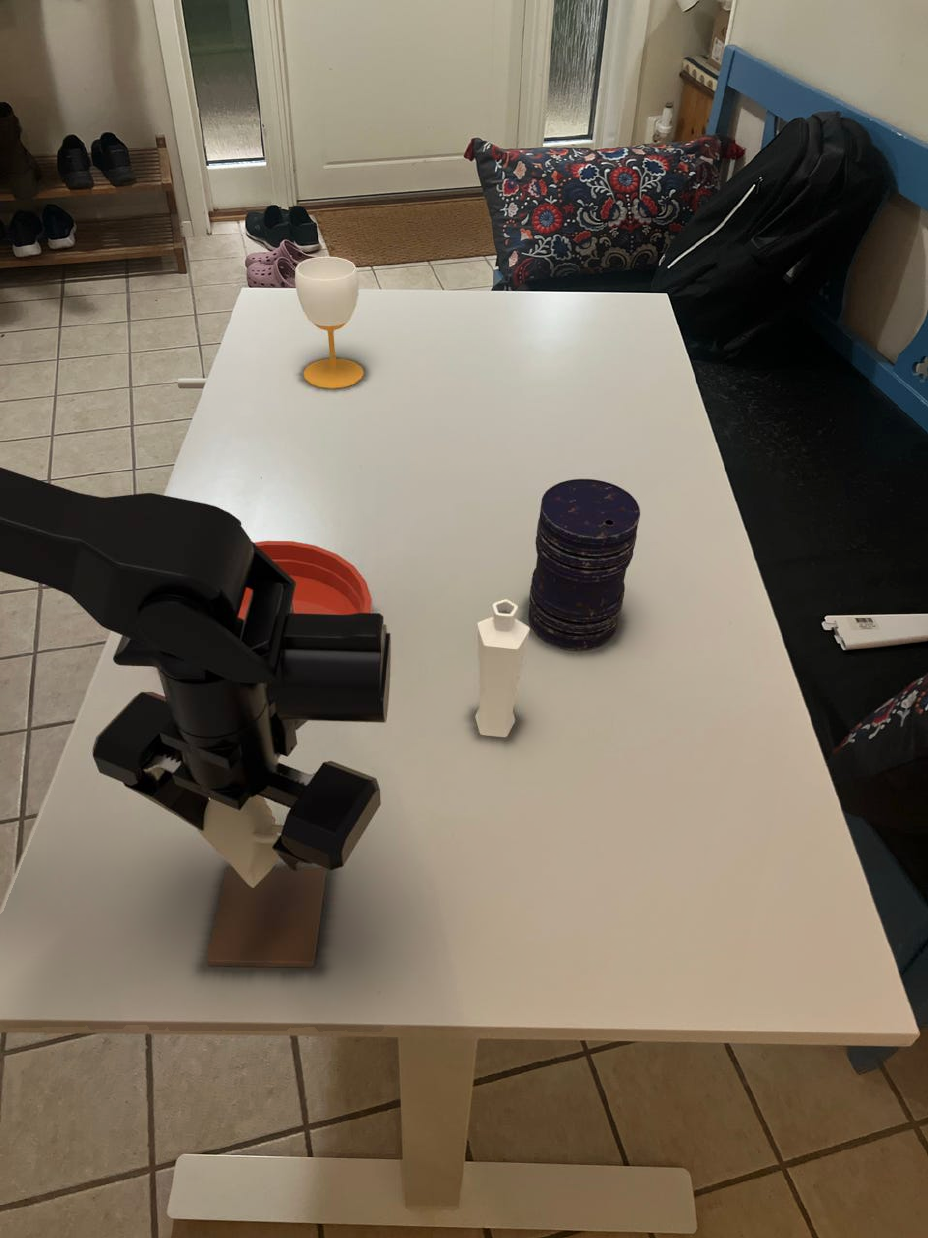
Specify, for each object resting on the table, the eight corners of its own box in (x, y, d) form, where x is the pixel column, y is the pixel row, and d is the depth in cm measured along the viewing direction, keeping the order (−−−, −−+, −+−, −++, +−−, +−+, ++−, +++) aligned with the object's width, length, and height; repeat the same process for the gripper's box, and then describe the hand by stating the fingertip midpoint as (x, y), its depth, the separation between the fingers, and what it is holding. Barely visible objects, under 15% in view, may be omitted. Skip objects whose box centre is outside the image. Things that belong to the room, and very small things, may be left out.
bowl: (366, 717, 85) (364, 685, 82) (140, 716, 84) (130, 684, 81) (377, 573, 101) (376, 542, 98) (187, 570, 100) (180, 539, 97)
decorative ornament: (242, 797, 68) (232, 754, 64) (309, 868, 64) (303, 826, 60) (196, 829, 66) (183, 785, 62) (263, 904, 61) (253, 862, 58)
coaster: (207, 966, 67) (205, 961, 66) (228, 871, 73) (226, 866, 72) (313, 968, 67) (312, 963, 67) (325, 873, 73) (325, 868, 72)
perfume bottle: (524, 737, 84) (539, 623, 74) (479, 744, 83) (487, 629, 73) (513, 701, 87) (525, 587, 77) (469, 707, 87) (476, 592, 76)
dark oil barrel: (509, 607, 97) (519, 495, 87) (579, 578, 101) (597, 467, 91) (564, 664, 91) (582, 550, 81) (636, 630, 95) (663, 518, 85)
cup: (335, 354, 139) (327, 250, 128) (376, 373, 135) (372, 268, 124) (290, 374, 134) (279, 267, 123) (332, 395, 129) (324, 287, 118)
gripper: (417, 661, 56) (417, 805, 67) (172, 577, 61) (209, 724, 72) (329, 794, 49) (345, 932, 59) (58, 686, 54) (118, 831, 64)
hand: (251, 845), depth 64 cm, fingers closed on decorative ornament, 7 cm apart
